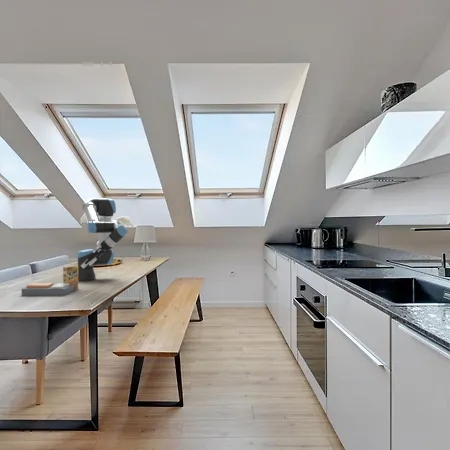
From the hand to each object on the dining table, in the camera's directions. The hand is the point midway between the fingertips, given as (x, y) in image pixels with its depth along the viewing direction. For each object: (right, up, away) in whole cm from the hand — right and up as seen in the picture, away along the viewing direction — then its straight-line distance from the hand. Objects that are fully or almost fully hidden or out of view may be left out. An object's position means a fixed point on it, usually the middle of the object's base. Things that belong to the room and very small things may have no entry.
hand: (85, 265), depth 235 cm
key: (-23, -13, -14) cm, 30 cm away
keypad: (-18, -16, -13) cm, 28 cm away
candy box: (-10, -16, 0) cm, 19 cm away
